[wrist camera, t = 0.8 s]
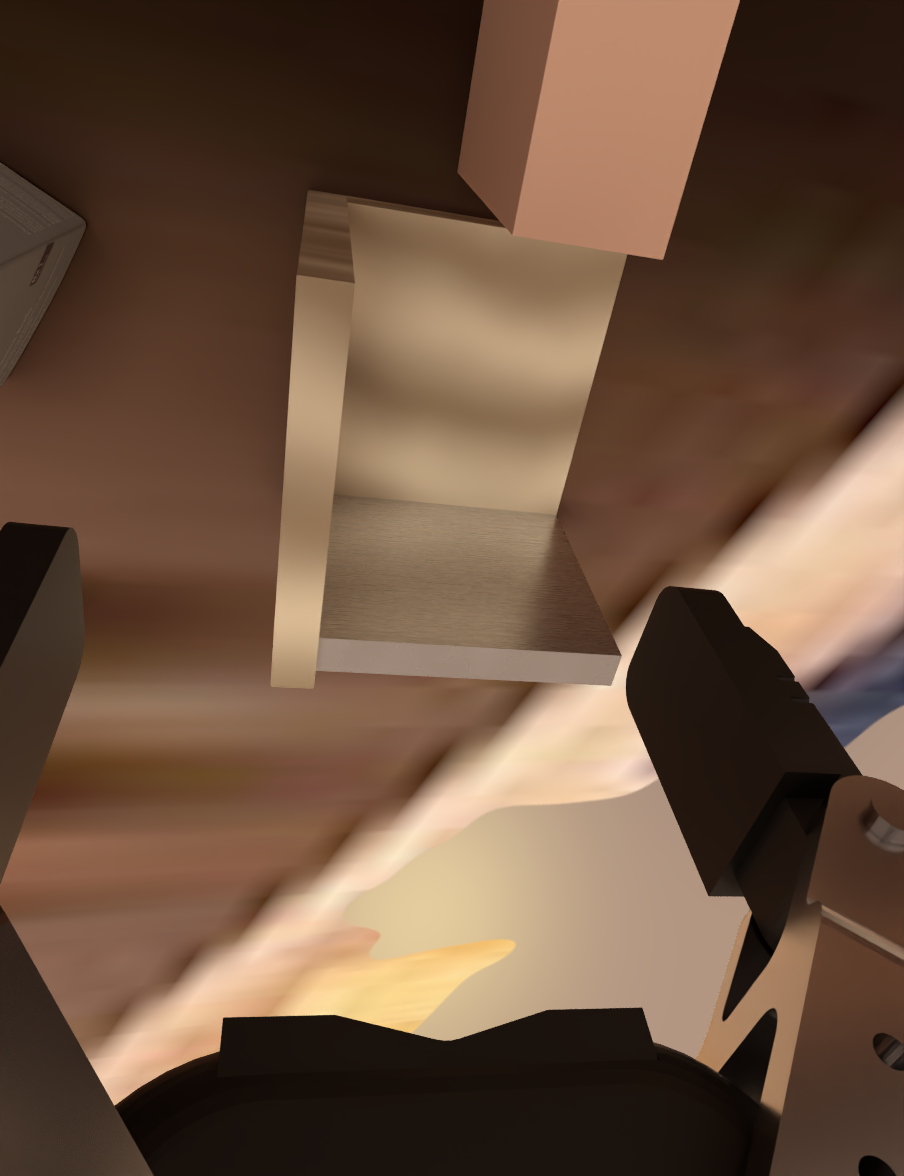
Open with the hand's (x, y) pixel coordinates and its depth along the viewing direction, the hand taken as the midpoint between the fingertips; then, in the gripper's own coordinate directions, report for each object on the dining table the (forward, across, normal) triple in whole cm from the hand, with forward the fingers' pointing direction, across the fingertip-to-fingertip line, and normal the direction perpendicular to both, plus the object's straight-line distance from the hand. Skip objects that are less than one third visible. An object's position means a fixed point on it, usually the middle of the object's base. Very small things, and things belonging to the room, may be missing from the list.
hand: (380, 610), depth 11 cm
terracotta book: (+27, -6, -8) cm, 28 cm away
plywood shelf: (+26, -5, +6) cm, 28 cm away
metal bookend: (+25, -6, +13) cm, 28 cm away
